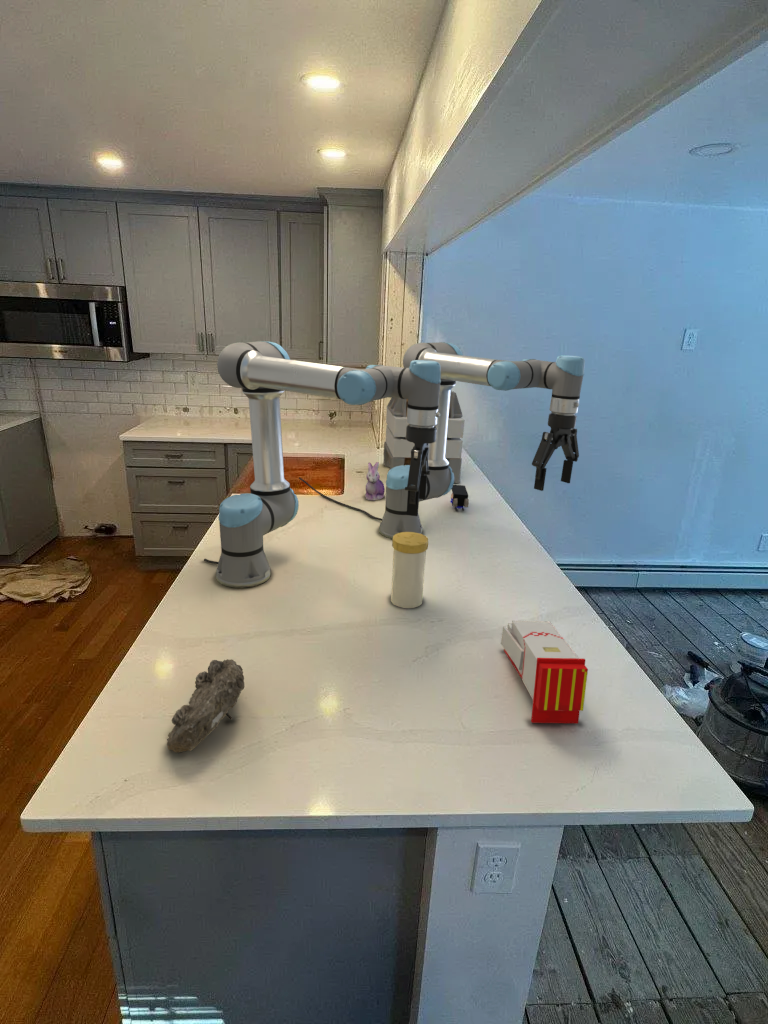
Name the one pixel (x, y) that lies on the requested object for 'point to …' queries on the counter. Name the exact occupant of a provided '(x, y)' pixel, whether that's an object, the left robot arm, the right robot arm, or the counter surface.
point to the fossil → (206, 705)
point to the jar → (407, 579)
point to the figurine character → (459, 497)
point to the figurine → (374, 483)
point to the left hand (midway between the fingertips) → (416, 506)
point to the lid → (410, 542)
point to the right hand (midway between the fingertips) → (552, 485)
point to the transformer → (400, 448)
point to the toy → (547, 670)
